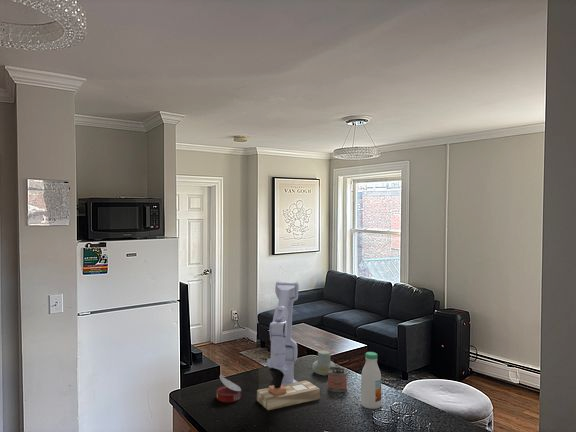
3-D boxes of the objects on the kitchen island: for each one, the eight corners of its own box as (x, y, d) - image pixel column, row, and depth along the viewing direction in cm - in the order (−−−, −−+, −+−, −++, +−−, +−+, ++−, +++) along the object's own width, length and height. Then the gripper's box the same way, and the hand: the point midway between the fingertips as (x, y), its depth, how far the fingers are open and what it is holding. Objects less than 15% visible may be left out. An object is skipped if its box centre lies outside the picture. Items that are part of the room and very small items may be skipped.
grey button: (290, 393, 171) (290, 386, 171) (301, 391, 173) (301, 384, 174) (297, 398, 167) (297, 390, 167) (307, 396, 169) (307, 388, 169)
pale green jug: (336, 371, 200) (336, 350, 200) (334, 377, 192) (334, 355, 192) (313, 369, 203) (314, 348, 203) (310, 375, 195) (311, 353, 195)
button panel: (256, 400, 166) (256, 390, 166) (306, 389, 178) (306, 380, 178) (267, 410, 158) (268, 399, 158) (319, 398, 169) (319, 388, 169)
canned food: (224, 404, 174) (229, 378, 178) (244, 406, 169) (249, 380, 174) (207, 399, 165) (213, 373, 170) (228, 402, 160) (233, 374, 165)
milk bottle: (369, 411, 158) (369, 357, 159) (356, 403, 165) (357, 351, 166) (385, 407, 162) (385, 354, 162) (372, 399, 169) (372, 349, 169)
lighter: (346, 389, 179) (347, 365, 179) (347, 392, 176) (347, 368, 176) (327, 388, 180) (327, 364, 180) (327, 391, 177) (327, 367, 177)
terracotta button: (268, 393, 166) (268, 386, 166) (279, 391, 169) (280, 383, 169) (274, 398, 162) (274, 390, 162) (286, 396, 164) (286, 388, 164)
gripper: (260, 348, 170) (260, 382, 170) (277, 359, 157) (276, 395, 157) (276, 346, 173) (275, 379, 173) (293, 356, 161) (293, 392, 160)
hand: (277, 387), depth 165 cm, fingers closed, pressing on terracotta button
